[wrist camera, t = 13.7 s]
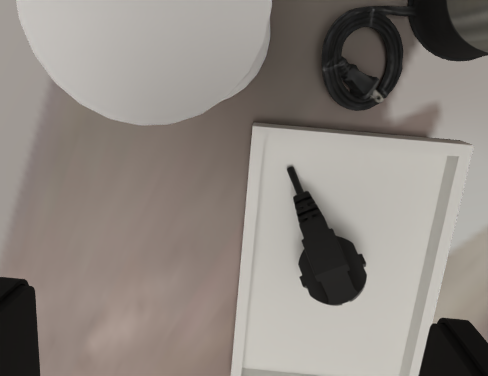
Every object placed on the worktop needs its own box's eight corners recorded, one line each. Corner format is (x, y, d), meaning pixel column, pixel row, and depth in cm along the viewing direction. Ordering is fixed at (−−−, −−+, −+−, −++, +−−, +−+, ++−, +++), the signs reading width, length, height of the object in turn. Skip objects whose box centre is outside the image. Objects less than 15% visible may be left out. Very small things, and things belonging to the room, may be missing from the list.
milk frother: (550, -33, 32) (778, -114, 18) (447, 151, 37) (567, 203, 22) (385, -111, 31) (490, -261, 17) (299, 88, 36) (325, 99, 21)
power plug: (319, 152, 36) (379, 288, 31) (326, 179, 43) (376, 294, 38) (258, 177, 36) (308, 314, 32) (275, 200, 43) (318, 315, 39)
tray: (253, 122, 36) (252, 125, 34) (459, 140, 36) (474, 145, 34) (231, 371, 44) (229, 389, 41) (403, 388, 43) (412, 406, 41)
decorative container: (291, -15, 33) (325, -105, 16) (242, 122, 37) (227, 169, 19) (153, -68, 33) (34, -222, 15) (115, 76, 36) (-19, 82, 19)
